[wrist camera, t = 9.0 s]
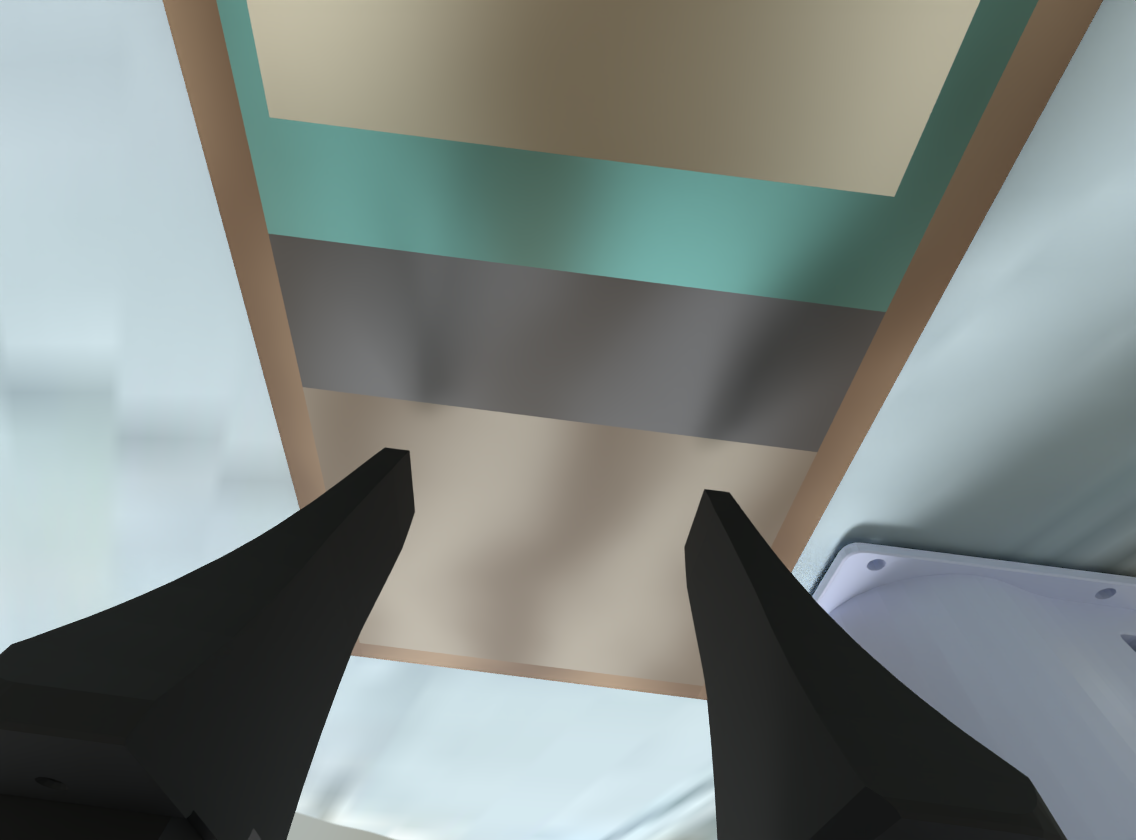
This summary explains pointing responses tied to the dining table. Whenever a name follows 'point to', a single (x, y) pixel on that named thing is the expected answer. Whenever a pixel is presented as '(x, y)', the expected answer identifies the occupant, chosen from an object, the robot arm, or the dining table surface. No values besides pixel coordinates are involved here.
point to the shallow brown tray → (586, 342)
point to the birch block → (628, 78)
